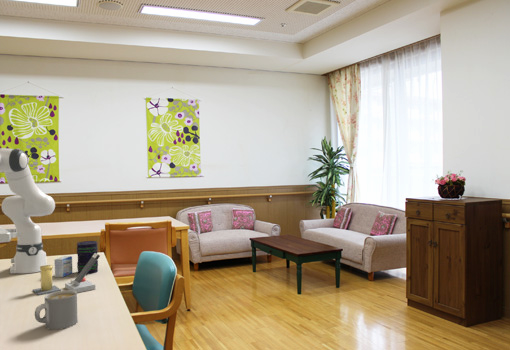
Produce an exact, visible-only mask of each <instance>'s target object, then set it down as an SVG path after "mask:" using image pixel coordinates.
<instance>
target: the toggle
mask: <svg viewBox="0 0 510 350" xmlns="http://www.w3.org/2000/svg"><path fill="white" fill-rule="evenodd" d="M100 257H101V255H100V254H99V253H97V254H96V253H94V255H93V256H92V258H91V259H90V260H89V261H88V263H87V264H86V265H85V267H84V268H83V269H82V271H81V272H80V273H79V274H77V276H76V277H75V278H74V279H75V280H73V279H72V280H73V281H72V283H73V284H75V285H76V286H79V285H80V282H81V281H82V279H83V278H86V277H85V276H86V275H88V274H87V273H88V272H89V270H90V269H91V268H92V266H93V265H94V264H95V262H96V261H97V260H98V261H99V259H100Z"/></svg>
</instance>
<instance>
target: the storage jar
mask: <svg viewBox="0 0 510 350" xmlns="http://www.w3.org/2000/svg"><path fill="white" fill-rule="evenodd" d="M98 249H99V247H98V241H97V240H85V241H79V242H78V241H77V242H76V255H77V262H76V267H77V275H79V273H80V272H81V271H82V269H83V268H84V267H85V265H86V264H87V263H88V261H89V260H90V259H91V258H92V256H93V255H94V253H96V254H99V252H98V251H99V250H98ZM98 268H99V259H98V260H97V261H96V262H95V264H94V265H93V266H92V268H91V269H90V270H89V272H88V273H87V274H86V275H92V274H96V273H98V271H99V269H98Z"/></svg>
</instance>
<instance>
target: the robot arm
mask: <svg viewBox="0 0 510 350" xmlns="http://www.w3.org/2000/svg"><path fill="white" fill-rule="evenodd" d="M0 173H4V176H5V179H6V180H7V184H8V187H9V189H10V191H11V192H12V193H13V194H15V195H12V196H7V197H5V198H4V199H3V200H2V202H1V211H2V213H3V214H4V215H5V216H6V217H8V218H9V219H10V220H11V221H12V223H13V224H14V226H15V228H4V227H1V226H0V243H2V244H3V243H9V242H11V241H12V239H14V238H17V243H16V249H15V250H16V253H15V255H14V257H13V258H11V259H10V264H12V265H11V266H9V274H11V275H12V274H19V275H20V274H21V275H22V274H33V273H40V272H41V270H40V266H44V265H48V264H47V263H48V262H47V261H48V259H47V253H46V251H44V250H43V249H44V248H43V247H44V244H43V243H44V242H42V241H43V240H42V228H41V225H39V224H37V223H35V222H34V221H33V220H32V219H31V217H44V216H48V215H51V214H53V212H54V211H55V208H56V202H55V200H54V198H53V197H52V196H51V195H48V194H46V193H45V192H43V191H42V190H41V189H40V188H39V187H38V186H37V184H36V182H35V180H34V177H33V175H32V171H31V169H30V166H29V157H28V155H27V153H26V152H25V151H24V150H22V149H19V148H8V147H7V148H6V147H3V148H2V147H0Z"/></svg>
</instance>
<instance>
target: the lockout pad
mask: <svg viewBox="0 0 510 350" xmlns="http://www.w3.org/2000/svg"><path fill="white" fill-rule="evenodd" d="M32 291H33V292H34V293H35V294H36V295H37V296H42V295H47V294H50V293H53V292H58V291H62V289H61V288H59V287H58V286H57V285H52V290H49V291H41V287H39V288H33V289H32Z"/></svg>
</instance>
